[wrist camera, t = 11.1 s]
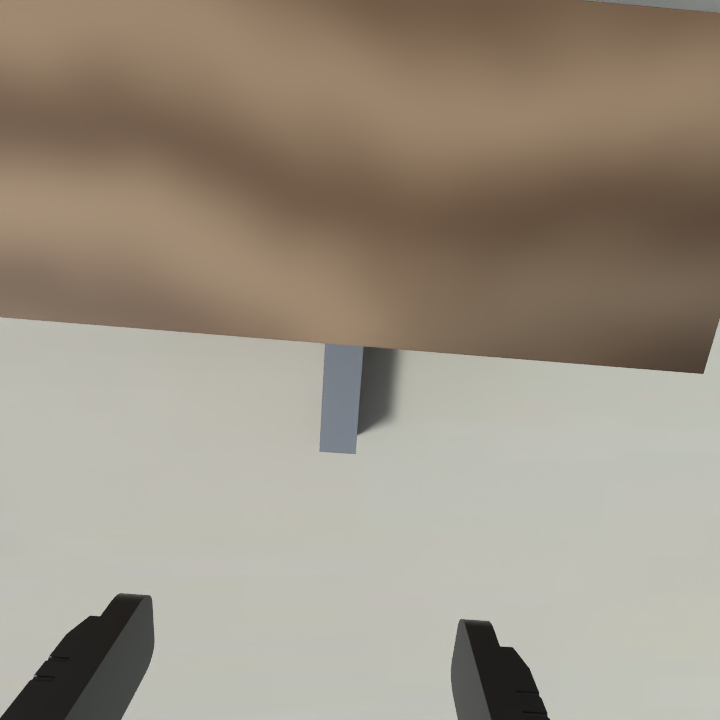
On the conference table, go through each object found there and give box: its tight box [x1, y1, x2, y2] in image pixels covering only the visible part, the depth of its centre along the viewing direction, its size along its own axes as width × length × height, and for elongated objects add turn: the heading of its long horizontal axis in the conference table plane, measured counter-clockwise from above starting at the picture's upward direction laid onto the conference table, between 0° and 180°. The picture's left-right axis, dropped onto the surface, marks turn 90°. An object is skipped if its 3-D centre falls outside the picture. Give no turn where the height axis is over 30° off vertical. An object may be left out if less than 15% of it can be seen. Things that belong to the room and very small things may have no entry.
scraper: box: [320, 343, 364, 454], centre depth 26 cm, size 23×10×3 cm, turn 176°
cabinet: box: [0, 0, 720, 374], centre depth 20 cm, size 11×27×13 cm, turn 85°
